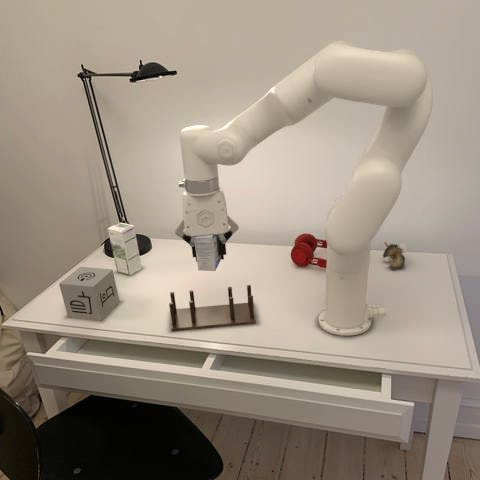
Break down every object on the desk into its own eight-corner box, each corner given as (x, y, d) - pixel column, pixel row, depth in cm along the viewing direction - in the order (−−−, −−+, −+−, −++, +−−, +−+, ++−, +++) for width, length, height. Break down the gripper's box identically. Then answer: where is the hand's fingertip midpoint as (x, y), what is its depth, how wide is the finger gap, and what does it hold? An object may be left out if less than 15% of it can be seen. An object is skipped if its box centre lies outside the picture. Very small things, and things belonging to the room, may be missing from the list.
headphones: (287, 268, 152) (355, 281, 149) (290, 246, 148) (360, 259, 145) (294, 248, 164) (357, 259, 161) (297, 227, 160) (362, 238, 157)
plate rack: (252, 304, 136) (250, 282, 133) (255, 323, 128) (254, 299, 124) (172, 311, 136) (169, 289, 132) (171, 331, 127) (167, 307, 124)
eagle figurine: (376, 252, 156) (376, 260, 148) (391, 233, 153) (392, 240, 145) (396, 267, 156) (398, 275, 148) (412, 248, 153) (414, 255, 145)
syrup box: (142, 268, 160) (134, 224, 152) (129, 276, 156) (121, 231, 148) (129, 264, 163) (120, 221, 155) (116, 272, 158) (106, 228, 151)
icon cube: (101, 320, 134) (93, 286, 129) (68, 316, 137) (58, 283, 131) (119, 302, 142) (112, 269, 137) (88, 298, 145) (80, 266, 140)
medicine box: (215, 271, 122) (212, 237, 117) (197, 271, 123) (193, 237, 118) (222, 257, 129) (220, 224, 124) (205, 257, 129) (202, 224, 125)
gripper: (163, 193, 112) (174, 268, 121) (241, 186, 112) (246, 262, 122) (165, 183, 118) (175, 255, 128) (239, 176, 119) (244, 249, 128)
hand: (209, 257), depth 125 cm, fingers closed on medicine box, 5 cm apart
